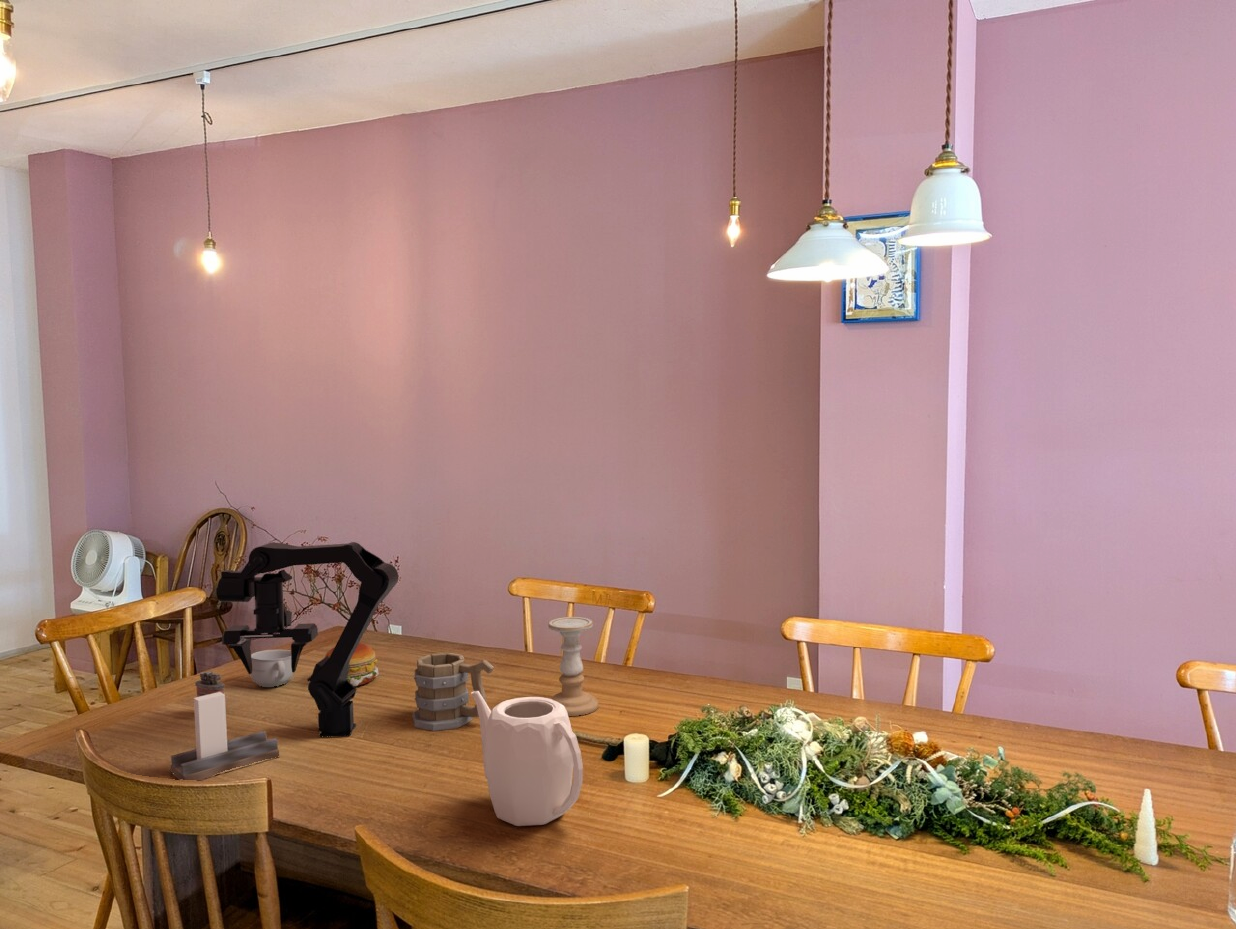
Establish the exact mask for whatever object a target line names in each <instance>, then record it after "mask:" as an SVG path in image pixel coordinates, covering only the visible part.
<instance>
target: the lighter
mask: <svg viewBox="0 0 1236 929" xmlns="http://www.w3.org/2000/svg"><path fill="white" fill-rule="evenodd" d="M199 678H200V680H197V681H195V686H196V697H200V696H204V695H209V694H213V693H217V692H221V693H223V694H225V691H224V690H225V689H224V688H225V683H224V682H222V681H221V680H222V677H221V674H219V673H216V672H213V670H209V671H201V672H200V673H199Z"/></svg>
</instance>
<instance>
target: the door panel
mask: <svg viewBox="0 0 1236 929" xmlns="http://www.w3.org/2000/svg"><path fill="white" fill-rule="evenodd" d="M193 708H194V709H193V710H194V712H193V713H194V728H195V731H194V732H195V747H196V748H195V749H196V751H197V759H201V758H205V757H208V756H212V755H215V754H219V753H223V752H226V751H228V749H227V741H228V736H227V735H228V731H227V712H226V694H225V693H224V694H223V693H221V692H217V693H213V694H209V695H204V696H200V697H197V696H196V697H193Z"/></svg>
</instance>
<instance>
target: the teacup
mask: <svg viewBox="0 0 1236 929" xmlns="http://www.w3.org/2000/svg"><path fill="white" fill-rule="evenodd" d="M251 659H252V673H251V674H250V678H251V680H252V681H253V682H254V683H255V684H257V686H259V687H261V686H262V687H263V688H275V687H274V686H277V687H280V686H279V685H282V684H284V685H286V684H287V683H288V682H289V681H291V680H292V678H293V677H294V674H295V672H294V673H293V672H292V668H291V649H266V650H260V651H256V652H253V653H251ZM285 683H286V684H285ZM282 686H283V685H282Z"/></svg>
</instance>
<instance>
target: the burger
mask: <svg viewBox="0 0 1236 929" xmlns="http://www.w3.org/2000/svg"><path fill="white" fill-rule="evenodd" d="M334 648H335V646H334V647H332V648H330V649H329V651H327V652H326V654H325V656H324V658H325V657H326V656H328V657H329V658H330V656H331V654H332V652H333V650H334ZM377 662H378V659H377V658H376V652H375V650H374V648H372V646H369V645H367V644H365V643H361V642H359V644H358V646H357V648H356V650H355V652H354V654H353V656H352V658H351V660H350V663H349V672H348V676H347V680H348V681H349V682H350V683H351V684H352V685H353V686H354V687H357V686H362V685H365V684H368V683H370V682H371V681H373V680H374V678H375V677H377V676H379V668H378V667H377V666H376V664H377Z"/></svg>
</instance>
